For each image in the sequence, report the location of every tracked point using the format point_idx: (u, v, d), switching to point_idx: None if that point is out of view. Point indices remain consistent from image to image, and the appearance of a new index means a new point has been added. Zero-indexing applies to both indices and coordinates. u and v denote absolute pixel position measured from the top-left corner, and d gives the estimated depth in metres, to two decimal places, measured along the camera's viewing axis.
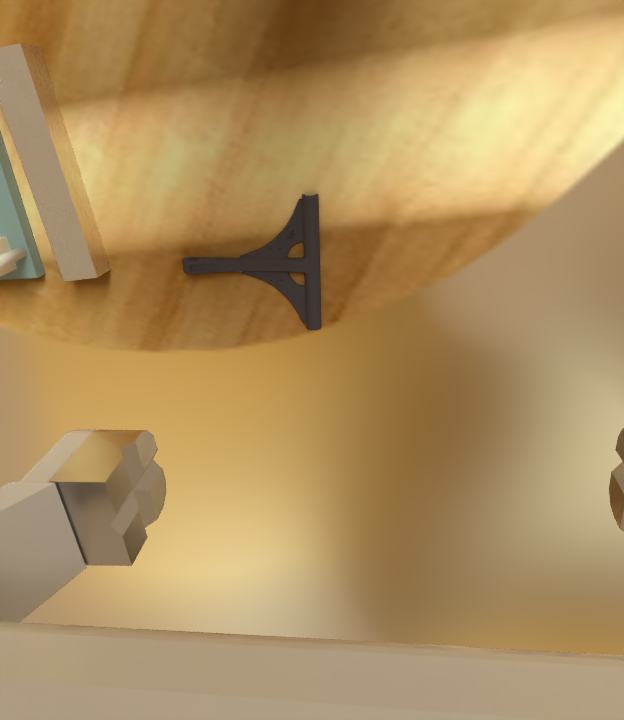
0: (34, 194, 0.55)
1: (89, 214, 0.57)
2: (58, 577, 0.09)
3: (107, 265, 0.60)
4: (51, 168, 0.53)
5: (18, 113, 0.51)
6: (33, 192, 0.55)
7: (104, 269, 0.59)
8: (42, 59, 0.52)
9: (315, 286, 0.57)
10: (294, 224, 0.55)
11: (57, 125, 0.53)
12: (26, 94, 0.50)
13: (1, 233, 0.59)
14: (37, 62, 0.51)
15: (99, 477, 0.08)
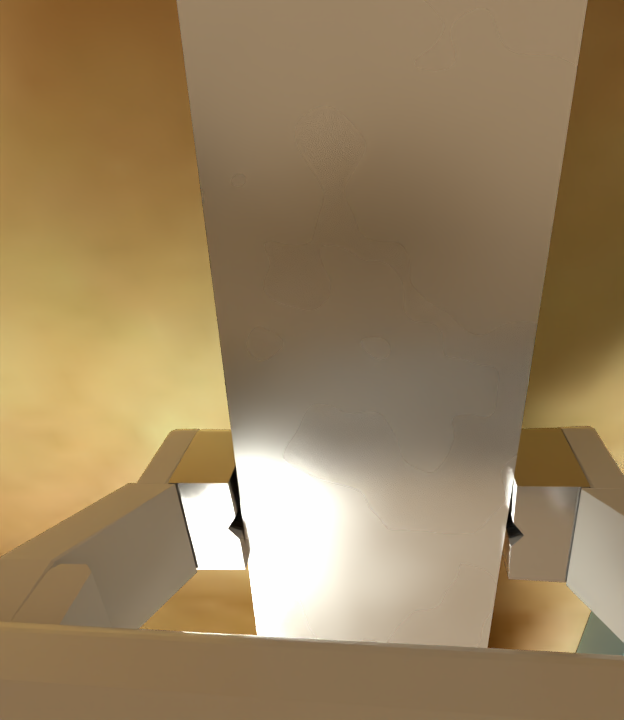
0: (508, 418, 0.07)
1: None
2: (172, 581, 0.08)
3: None
4: (307, 528, 0.08)
5: None
6: (508, 431, 0.07)
7: None
8: None
9: None
10: None
11: None
12: None
13: None
14: None
15: (220, 478, 0.08)
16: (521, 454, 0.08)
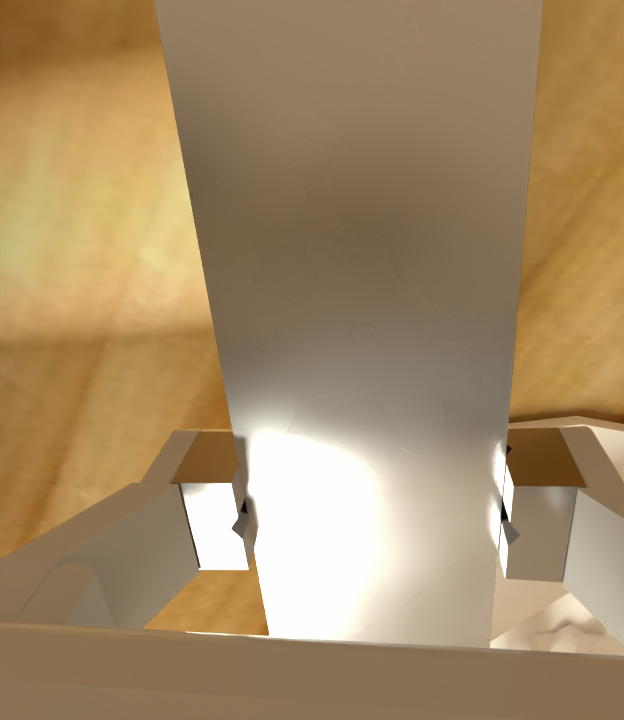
0: (496, 398, 0.07)
1: None
2: (176, 581, 0.08)
3: None
4: (310, 514, 0.09)
5: None
6: (497, 411, 0.07)
7: None
8: None
9: None
10: None
11: None
12: None
13: None
14: None
15: (223, 478, 0.08)
16: (518, 454, 0.08)
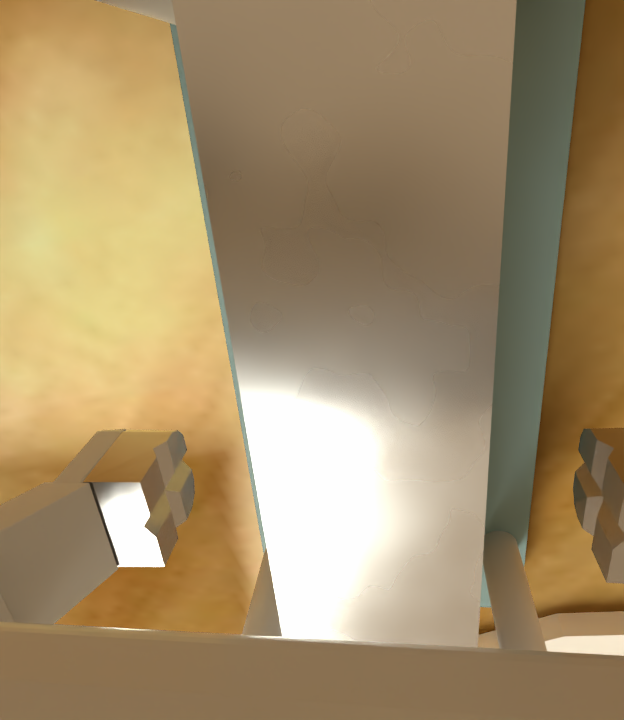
0: (481, 372, 0.08)
1: None
2: (90, 578, 0.09)
3: None
4: (313, 483, 0.10)
5: None
6: (483, 384, 0.08)
7: None
8: None
9: None
10: None
11: None
12: None
13: None
14: None
15: (134, 478, 0.08)
16: (622, 454, 0.08)
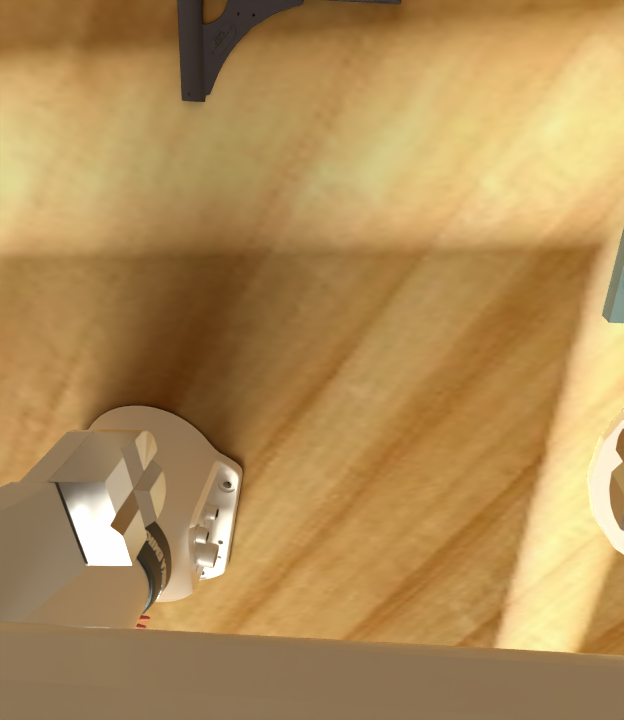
0: None
1: None
2: (58, 577, 0.09)
3: None
4: None
5: None
6: None
7: None
8: None
9: None
10: (214, 55, 0.37)
11: None
12: None
13: None
14: None
15: (99, 477, 0.08)
16: None
